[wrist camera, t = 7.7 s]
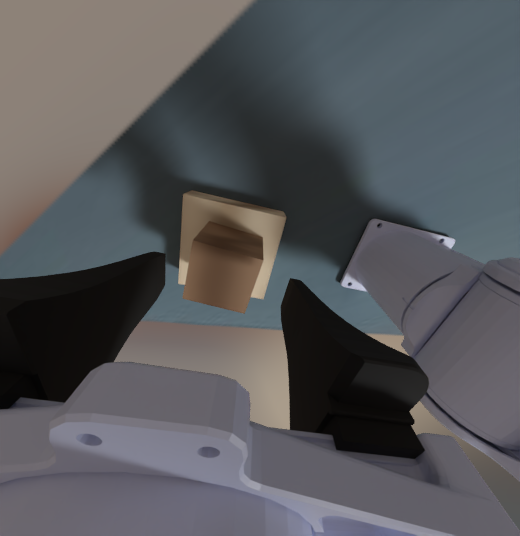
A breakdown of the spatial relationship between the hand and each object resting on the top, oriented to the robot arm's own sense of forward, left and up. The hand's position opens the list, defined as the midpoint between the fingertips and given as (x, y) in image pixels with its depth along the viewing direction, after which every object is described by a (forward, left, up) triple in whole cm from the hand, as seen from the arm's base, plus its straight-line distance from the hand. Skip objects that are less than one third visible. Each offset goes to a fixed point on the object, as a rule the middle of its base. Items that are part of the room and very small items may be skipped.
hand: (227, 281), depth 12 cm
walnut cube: (+1, +2, -8) cm, 8 cm away
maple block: (+1, +2, -11) cm, 11 cm away
